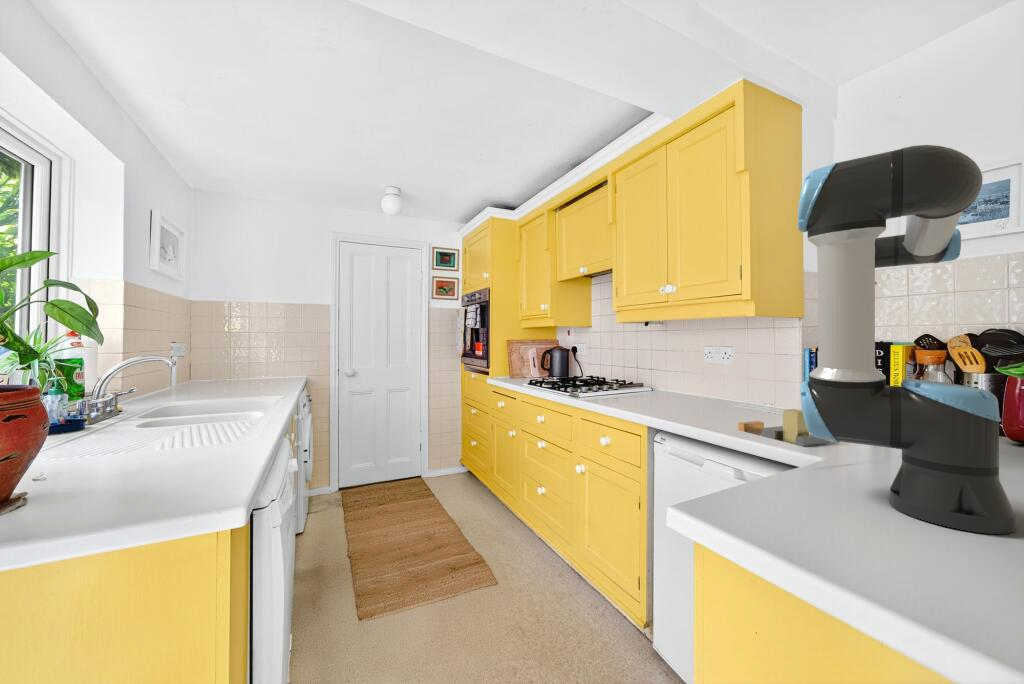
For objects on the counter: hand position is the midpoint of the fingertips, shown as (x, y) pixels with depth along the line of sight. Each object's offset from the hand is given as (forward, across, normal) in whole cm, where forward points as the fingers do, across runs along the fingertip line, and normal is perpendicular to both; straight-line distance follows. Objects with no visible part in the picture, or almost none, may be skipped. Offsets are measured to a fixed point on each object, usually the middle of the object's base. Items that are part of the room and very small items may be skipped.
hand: (856, 371), depth 113 cm
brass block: (+21, -6, +13) cm, 26 cm away
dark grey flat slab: (+22, -4, +18) cm, 28 cm away
